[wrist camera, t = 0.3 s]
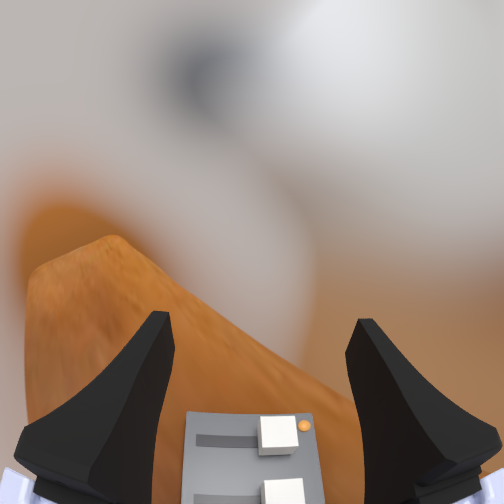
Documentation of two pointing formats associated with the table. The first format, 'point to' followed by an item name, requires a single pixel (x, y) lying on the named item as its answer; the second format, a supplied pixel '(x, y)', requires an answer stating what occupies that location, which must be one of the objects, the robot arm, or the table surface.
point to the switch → (277, 435)
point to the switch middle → (282, 491)
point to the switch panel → (243, 460)
